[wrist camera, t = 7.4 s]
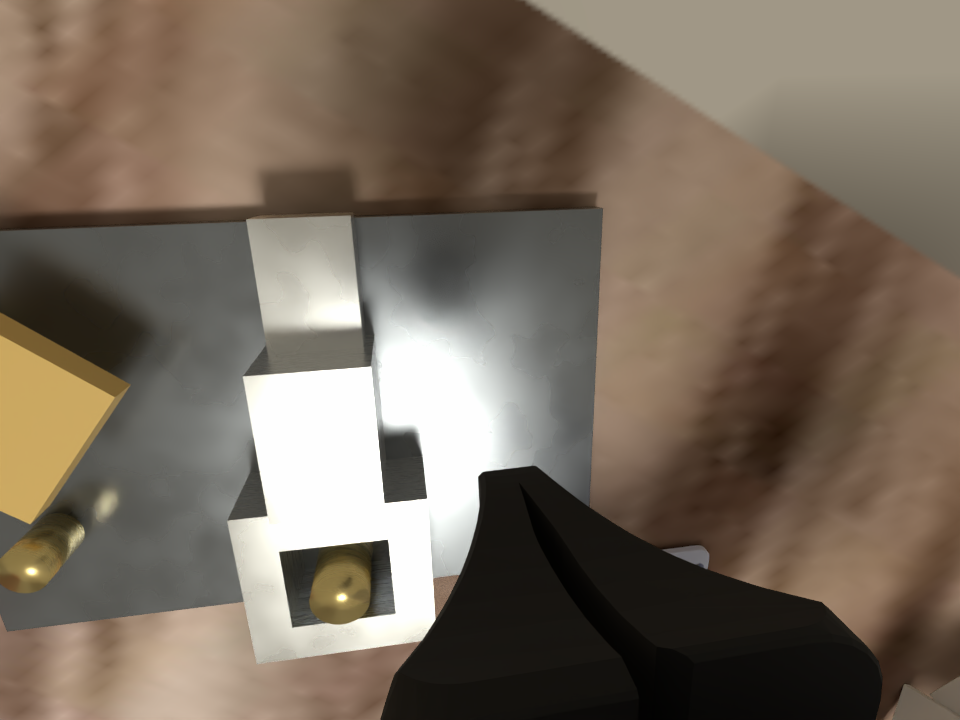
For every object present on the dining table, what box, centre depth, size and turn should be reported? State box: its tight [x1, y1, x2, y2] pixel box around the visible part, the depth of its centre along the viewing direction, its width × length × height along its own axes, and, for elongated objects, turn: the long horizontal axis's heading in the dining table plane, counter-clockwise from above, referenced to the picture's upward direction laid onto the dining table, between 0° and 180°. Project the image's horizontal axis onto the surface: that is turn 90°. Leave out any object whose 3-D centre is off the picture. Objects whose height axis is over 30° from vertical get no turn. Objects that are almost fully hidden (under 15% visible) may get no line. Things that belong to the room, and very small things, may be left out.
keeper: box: [0, 313, 130, 524], centre depth 17 cm, size 6×5×3 cm
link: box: [227, 212, 435, 664], centre depth 19 cm, size 15×6×4 cm, turn 1°
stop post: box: [0, 513, 85, 593], centre depth 19 cm, size 2×2×2 cm
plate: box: [0, 207, 603, 631], centre depth 20 cm, size 15×23×1 cm, turn 91°
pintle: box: [309, 541, 373, 625], centre depth 20 cm, size 2×2×4 cm
